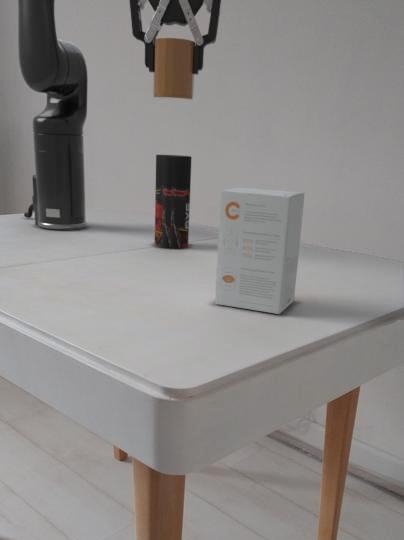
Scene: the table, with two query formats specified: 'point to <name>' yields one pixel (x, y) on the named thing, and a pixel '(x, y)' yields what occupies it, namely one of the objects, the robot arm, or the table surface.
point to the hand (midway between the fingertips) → (173, 72)
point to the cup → (173, 69)
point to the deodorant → (172, 201)
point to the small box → (258, 248)
